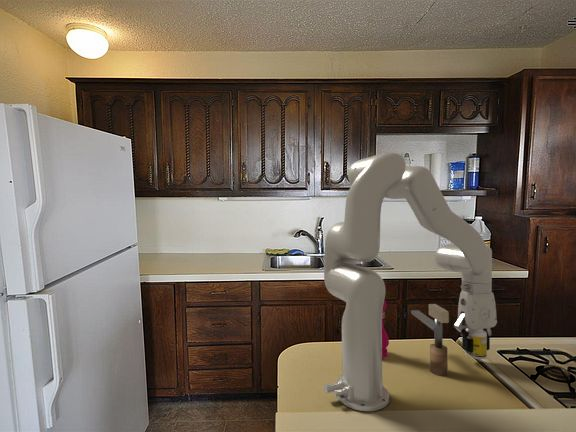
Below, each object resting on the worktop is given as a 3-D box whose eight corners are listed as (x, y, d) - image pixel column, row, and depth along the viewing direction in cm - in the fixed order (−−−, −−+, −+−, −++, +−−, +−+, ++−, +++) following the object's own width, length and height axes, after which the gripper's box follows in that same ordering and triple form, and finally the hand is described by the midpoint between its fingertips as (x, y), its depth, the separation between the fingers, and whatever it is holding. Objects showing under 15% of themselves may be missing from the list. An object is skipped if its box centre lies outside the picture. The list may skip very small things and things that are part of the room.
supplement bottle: (461, 353, 94) (461, 320, 94) (472, 350, 97) (473, 318, 97) (479, 361, 89) (479, 326, 89) (490, 357, 92) (491, 323, 92)
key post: (438, 377, 86) (438, 351, 86) (426, 369, 91) (426, 344, 90) (451, 374, 88) (451, 348, 88) (439, 366, 92) (438, 342, 92)
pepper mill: (390, 360, 96) (389, 294, 96) (365, 359, 98) (364, 293, 97) (387, 350, 103) (386, 288, 103) (364, 348, 105) (363, 288, 104)
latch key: (449, 351, 86) (449, 311, 85) (440, 351, 85) (440, 311, 85) (418, 326, 104) (417, 293, 104) (411, 326, 104) (410, 293, 104)
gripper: (463, 292, 87) (463, 359, 87) (510, 288, 92) (510, 350, 92) (442, 286, 94) (442, 348, 94) (487, 282, 99) (486, 340, 99)
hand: (475, 348), depth 93 cm, fingers closed on supplement bottle, 5 cm apart
